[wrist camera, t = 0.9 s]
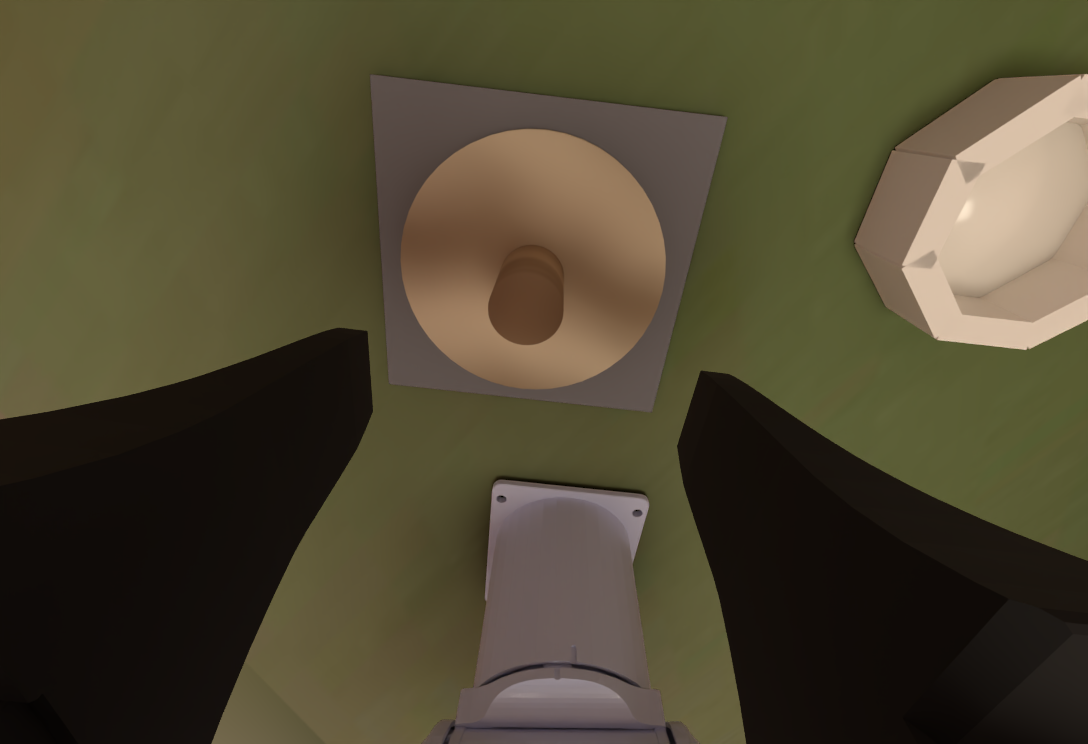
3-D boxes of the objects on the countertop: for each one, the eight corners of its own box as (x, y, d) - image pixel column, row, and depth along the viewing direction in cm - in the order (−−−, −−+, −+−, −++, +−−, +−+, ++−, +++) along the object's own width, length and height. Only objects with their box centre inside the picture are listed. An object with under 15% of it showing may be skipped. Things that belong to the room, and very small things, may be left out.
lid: (634, 391, 22) (649, 452, 18) (410, 367, 21) (377, 423, 18) (690, 145, 17) (726, 158, 13) (401, 112, 17) (353, 115, 13)
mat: (650, 408, 22) (651, 412, 22) (391, 380, 22) (388, 384, 22) (725, 116, 17) (727, 117, 16) (373, 74, 16) (370, 74, 16)
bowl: (1022, 323, 20) (1092, 357, 17) (829, 301, 20) (869, 332, 17) (1165, 99, 16) (1284, 98, 13) (925, 69, 16) (998, 63, 13)
